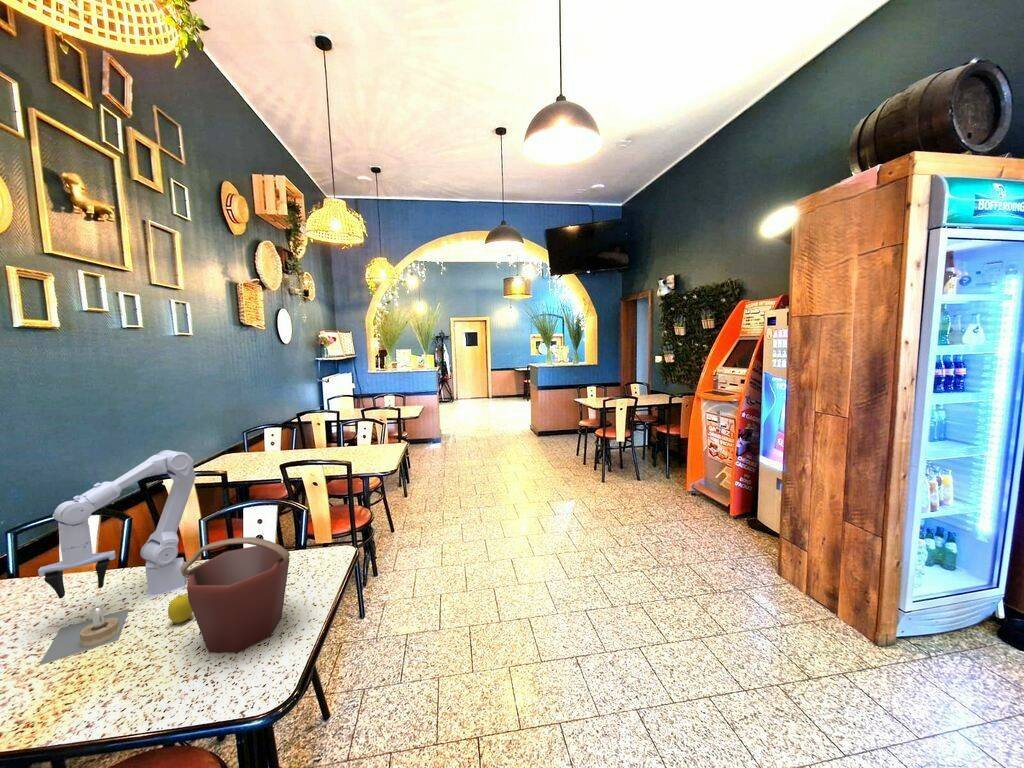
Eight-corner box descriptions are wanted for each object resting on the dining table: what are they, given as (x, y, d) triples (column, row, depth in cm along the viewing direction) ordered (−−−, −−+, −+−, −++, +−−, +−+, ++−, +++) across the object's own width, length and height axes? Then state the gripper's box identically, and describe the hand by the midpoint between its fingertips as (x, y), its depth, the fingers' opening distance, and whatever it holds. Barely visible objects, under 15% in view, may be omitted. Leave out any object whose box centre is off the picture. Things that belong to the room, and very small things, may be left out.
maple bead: (121, 624, 113) (120, 614, 113) (116, 638, 107) (115, 627, 107) (85, 635, 109) (84, 625, 109) (78, 650, 103) (76, 639, 103)
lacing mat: (129, 610, 120) (129, 608, 120) (118, 642, 107) (118, 640, 107) (60, 630, 112) (60, 628, 112) (39, 667, 99) (38, 665, 99)
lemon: (199, 619, 115) (196, 591, 115) (176, 631, 110) (173, 603, 110) (187, 614, 118) (185, 587, 117) (165, 626, 112) (162, 598, 112)
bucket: (164, 661, 99) (154, 561, 97) (231, 604, 121) (223, 523, 119) (263, 661, 98) (254, 560, 96) (311, 604, 120) (305, 521, 118)
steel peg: (104, 633, 109) (99, 605, 109) (107, 635, 108) (103, 606, 108) (94, 638, 107) (89, 609, 107) (97, 640, 107) (93, 611, 106)
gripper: (115, 532, 120) (120, 576, 122) (42, 547, 112) (48, 594, 113) (110, 540, 115) (115, 587, 116) (33, 557, 106) (39, 607, 107)
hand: (82, 591), depth 114 cm, fingers open, 7 cm apart
